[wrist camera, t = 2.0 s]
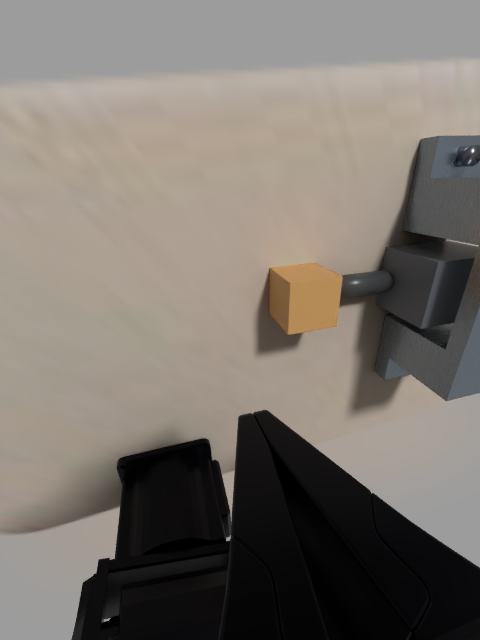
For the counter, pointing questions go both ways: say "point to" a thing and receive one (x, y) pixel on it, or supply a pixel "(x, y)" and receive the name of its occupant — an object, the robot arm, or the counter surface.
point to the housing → (476, 305)
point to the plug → (376, 287)
